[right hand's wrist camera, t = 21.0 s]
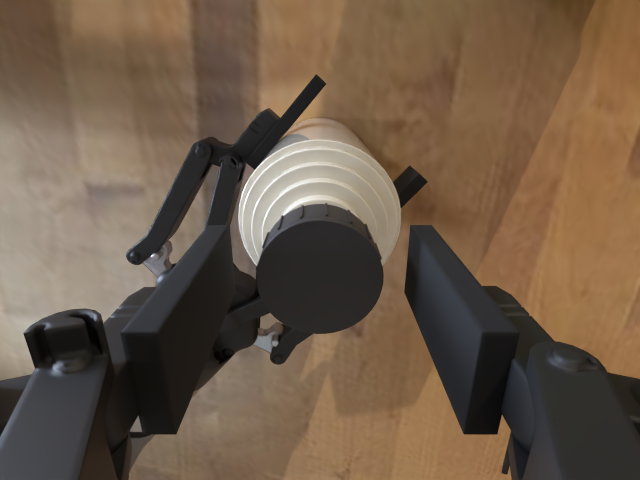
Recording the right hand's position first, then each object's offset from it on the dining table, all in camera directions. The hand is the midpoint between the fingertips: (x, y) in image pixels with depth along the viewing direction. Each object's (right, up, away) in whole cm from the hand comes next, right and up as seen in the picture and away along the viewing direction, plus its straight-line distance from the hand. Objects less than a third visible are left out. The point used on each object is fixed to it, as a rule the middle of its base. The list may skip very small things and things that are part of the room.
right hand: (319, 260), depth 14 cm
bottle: (0, +7, +17) cm, 18 cm away
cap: (0, 0, -1) cm, 1 cm away
